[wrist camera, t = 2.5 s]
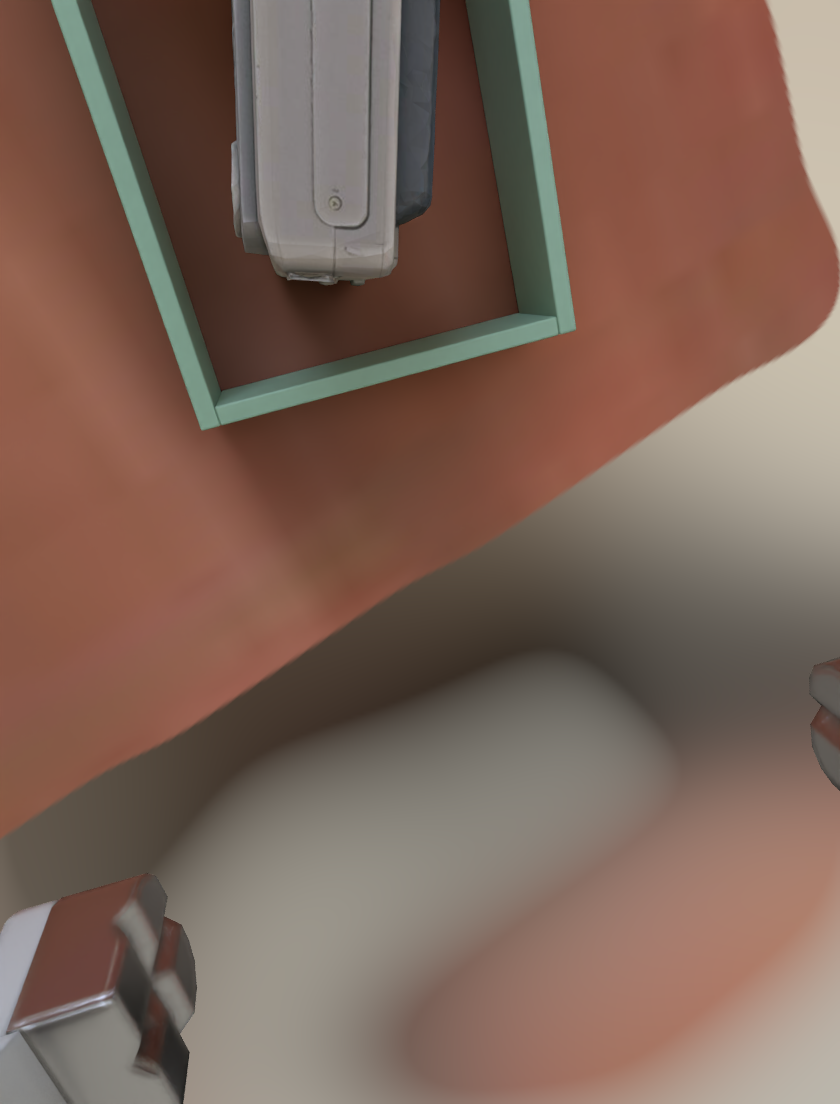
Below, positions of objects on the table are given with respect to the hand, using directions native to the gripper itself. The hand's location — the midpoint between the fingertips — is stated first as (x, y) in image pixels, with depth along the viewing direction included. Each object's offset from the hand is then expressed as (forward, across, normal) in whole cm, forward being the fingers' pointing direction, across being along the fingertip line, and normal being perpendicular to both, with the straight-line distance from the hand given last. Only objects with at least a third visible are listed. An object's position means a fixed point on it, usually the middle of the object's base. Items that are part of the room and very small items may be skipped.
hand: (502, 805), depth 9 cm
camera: (+25, +2, +11) cm, 27 cm away
